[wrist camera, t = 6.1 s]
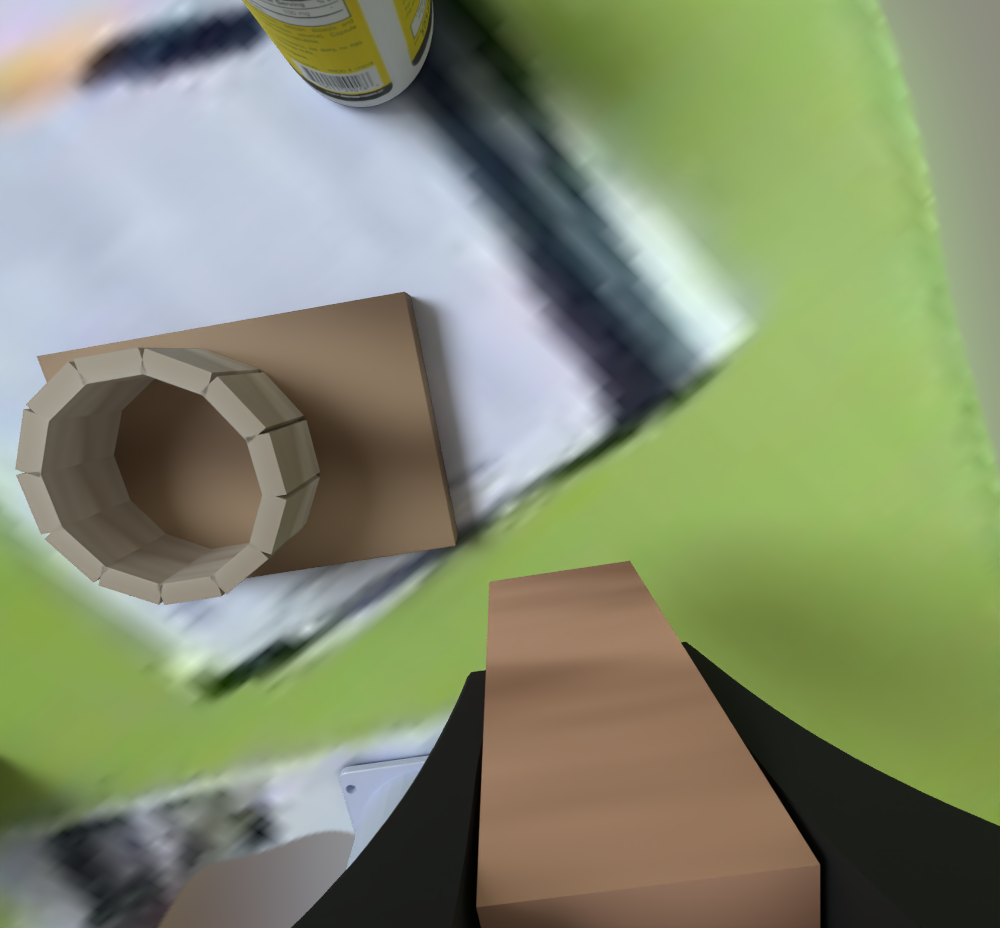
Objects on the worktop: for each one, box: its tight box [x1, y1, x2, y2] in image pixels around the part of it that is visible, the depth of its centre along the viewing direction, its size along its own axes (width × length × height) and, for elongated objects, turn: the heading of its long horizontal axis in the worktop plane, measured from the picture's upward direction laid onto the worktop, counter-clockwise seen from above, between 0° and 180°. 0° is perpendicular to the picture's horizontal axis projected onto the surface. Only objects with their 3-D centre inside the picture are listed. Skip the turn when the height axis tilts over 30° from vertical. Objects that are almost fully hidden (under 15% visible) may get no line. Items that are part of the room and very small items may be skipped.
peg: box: [476, 561, 820, 928], centre depth 10 cm, size 4×4×8 cm
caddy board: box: [15, 292, 458, 605], centre depth 17 cm, size 10×14×4 cm
